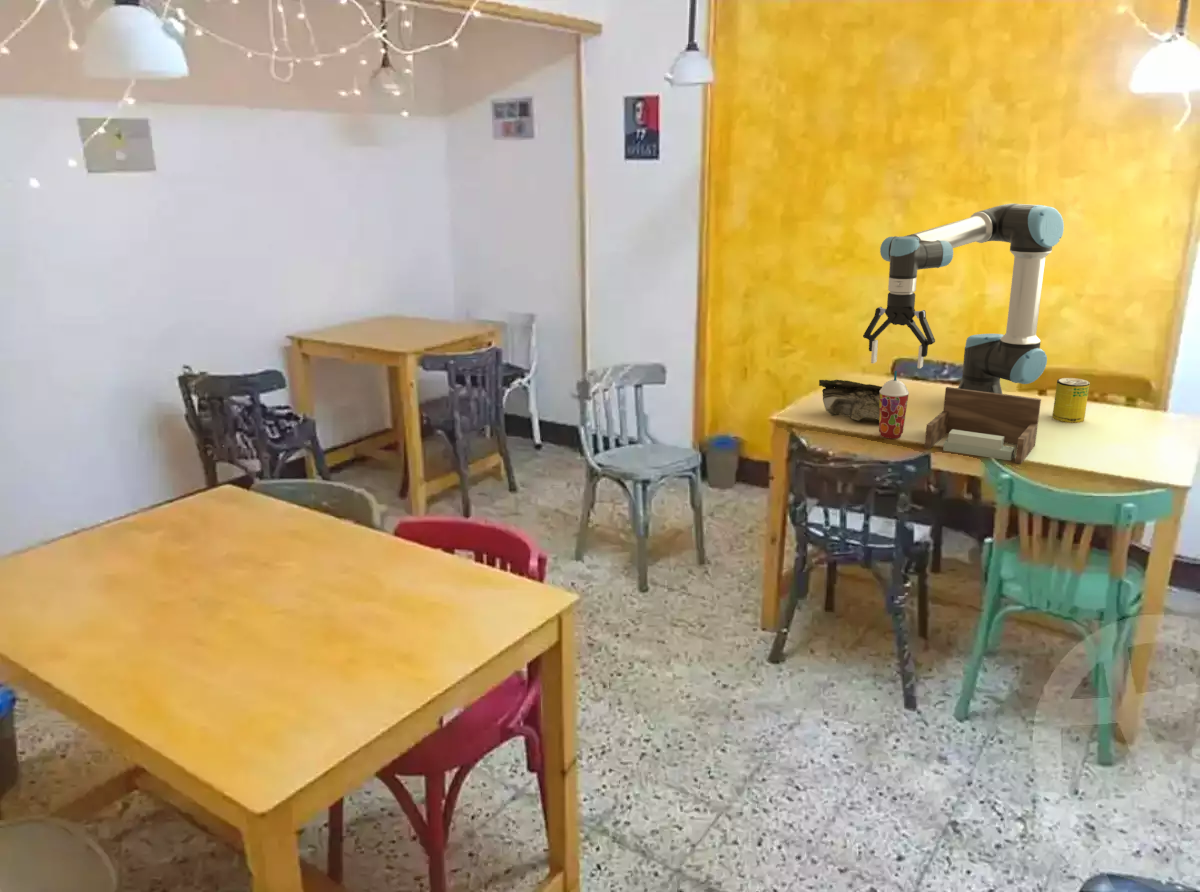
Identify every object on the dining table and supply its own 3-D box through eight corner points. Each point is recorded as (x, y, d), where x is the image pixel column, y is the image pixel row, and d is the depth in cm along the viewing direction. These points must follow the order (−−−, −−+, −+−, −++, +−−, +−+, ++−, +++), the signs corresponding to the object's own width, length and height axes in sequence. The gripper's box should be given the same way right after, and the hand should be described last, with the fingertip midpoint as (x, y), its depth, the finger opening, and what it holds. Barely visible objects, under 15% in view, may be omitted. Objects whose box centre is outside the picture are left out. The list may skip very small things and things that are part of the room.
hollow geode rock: (816, 425, 307) (802, 401, 296) (828, 393, 311) (815, 367, 300) (899, 437, 290) (888, 412, 279) (911, 403, 294) (901, 376, 283)
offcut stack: (947, 446, 270) (948, 428, 268) (1013, 456, 260) (1016, 437, 259) (943, 451, 266) (945, 432, 264) (1010, 461, 257) (1012, 442, 255)
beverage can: (1088, 418, 292) (1093, 380, 288) (1078, 424, 286) (1084, 386, 282) (1057, 413, 298) (1062, 376, 294) (1048, 419, 292) (1053, 382, 288)
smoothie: (901, 431, 283) (907, 367, 277) (907, 440, 275) (913, 374, 269) (873, 431, 284) (878, 367, 277) (878, 440, 276) (883, 374, 270)
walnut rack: (942, 431, 282) (947, 386, 278) (1035, 445, 268) (1041, 398, 263) (924, 447, 268) (928, 401, 264) (1020, 463, 254) (1027, 414, 250)
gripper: (854, 291, 270) (850, 362, 277) (942, 297, 256) (936, 372, 263) (863, 287, 276) (859, 357, 283) (950, 293, 262) (944, 366, 269)
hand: (896, 364), depth 273 cm, fingers open, 13 cm apart
